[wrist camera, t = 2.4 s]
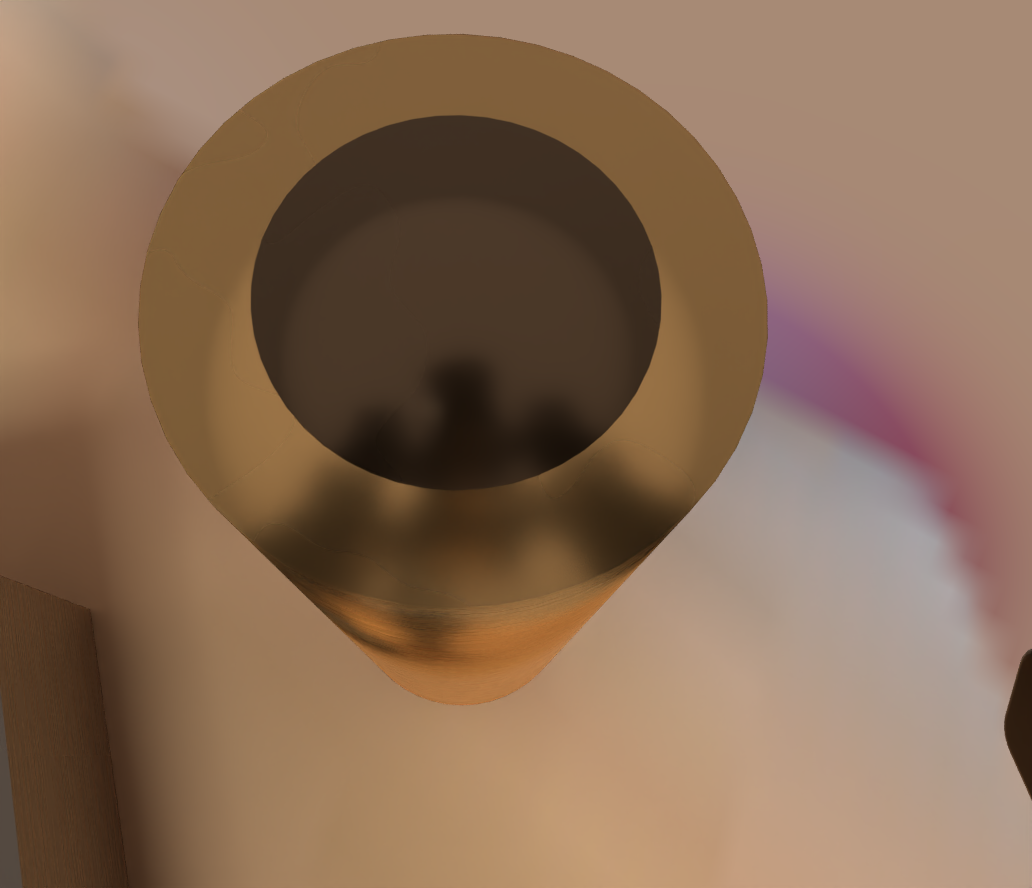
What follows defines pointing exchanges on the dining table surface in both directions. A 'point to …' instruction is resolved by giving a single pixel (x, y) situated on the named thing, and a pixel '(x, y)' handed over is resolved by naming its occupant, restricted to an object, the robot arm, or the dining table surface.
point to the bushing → (453, 344)
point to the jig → (54, 749)
